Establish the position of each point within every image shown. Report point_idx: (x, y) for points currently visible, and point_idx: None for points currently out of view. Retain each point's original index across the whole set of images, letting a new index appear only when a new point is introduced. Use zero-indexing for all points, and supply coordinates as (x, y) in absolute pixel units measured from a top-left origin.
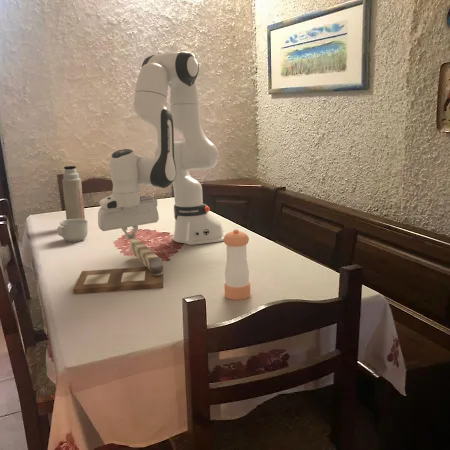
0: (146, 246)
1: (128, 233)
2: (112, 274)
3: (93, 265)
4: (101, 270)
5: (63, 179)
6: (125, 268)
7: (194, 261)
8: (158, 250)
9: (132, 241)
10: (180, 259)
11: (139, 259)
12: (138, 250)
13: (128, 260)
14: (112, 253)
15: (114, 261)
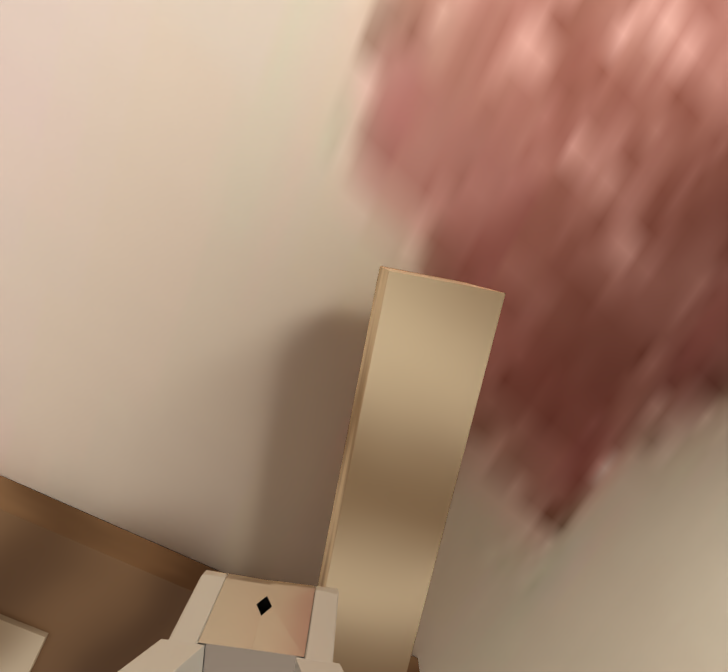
0: (409, 649)
1: (225, 650)
2: (60, 646)
3: (28, 257)
4: (9, 528)
5: None
6: (181, 593)
7: (665, 641)
8: (659, 240)
9: (380, 370)
10: (629, 554)
11: (323, 557)
12: None
13: (321, 328)
14: (285, 10)
15: (214, 274)
